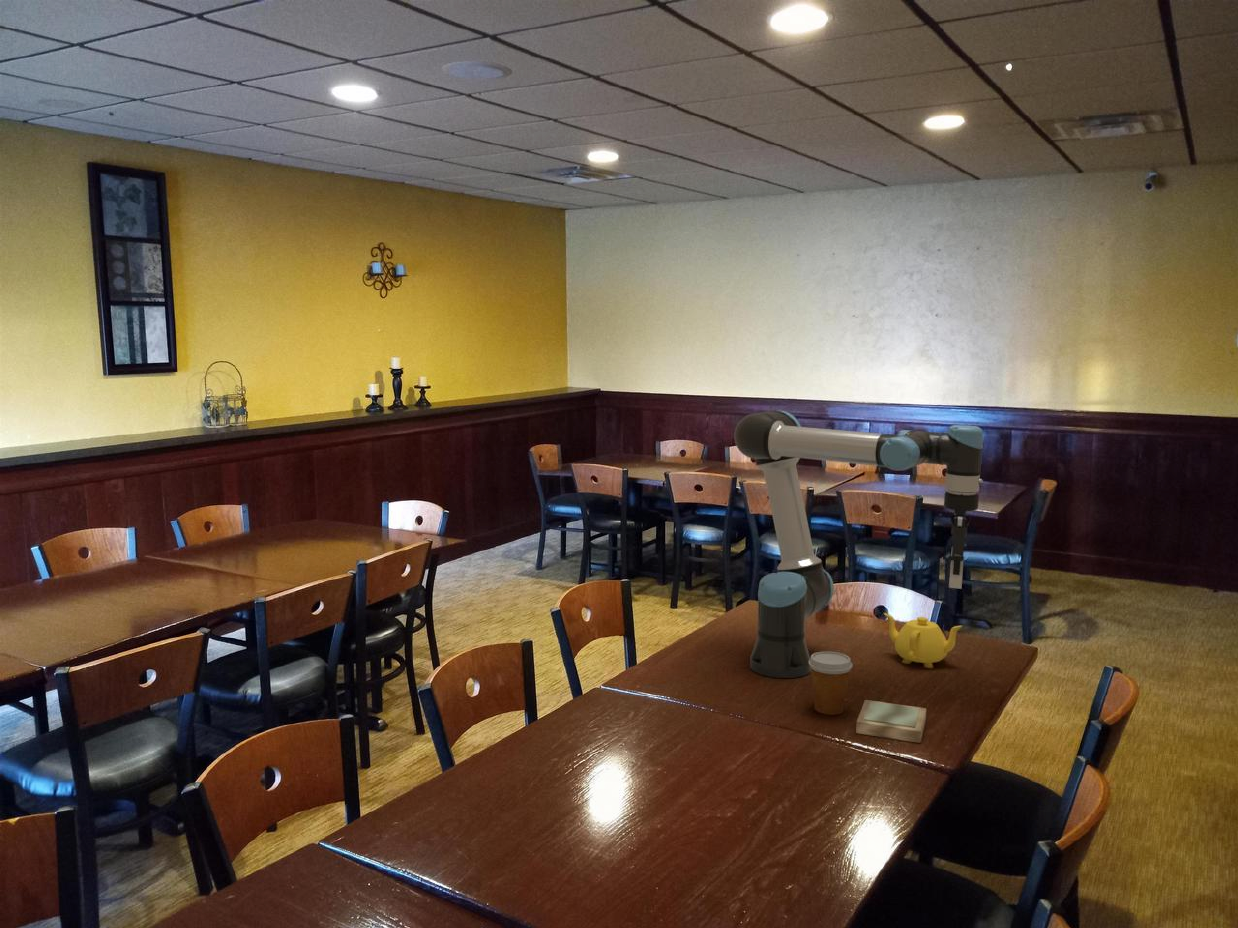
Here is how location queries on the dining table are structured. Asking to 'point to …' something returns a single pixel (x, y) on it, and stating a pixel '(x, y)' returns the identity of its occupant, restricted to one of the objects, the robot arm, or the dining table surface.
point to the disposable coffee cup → (829, 681)
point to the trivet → (891, 721)
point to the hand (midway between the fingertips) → (955, 580)
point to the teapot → (921, 641)
